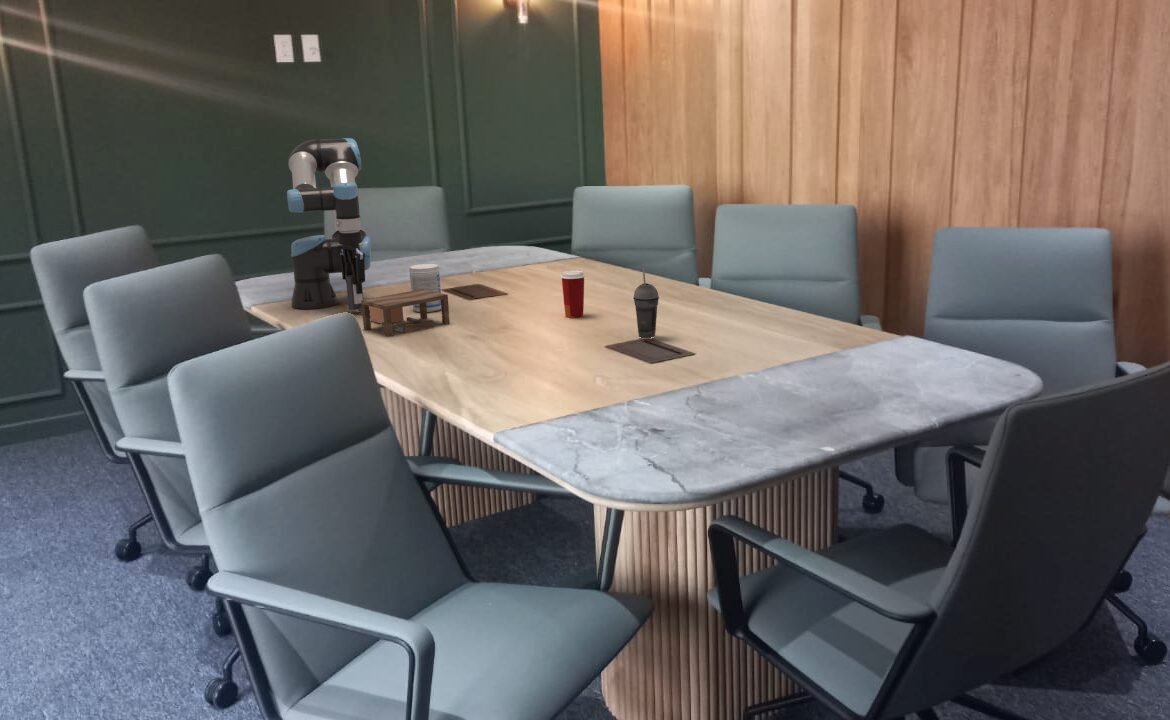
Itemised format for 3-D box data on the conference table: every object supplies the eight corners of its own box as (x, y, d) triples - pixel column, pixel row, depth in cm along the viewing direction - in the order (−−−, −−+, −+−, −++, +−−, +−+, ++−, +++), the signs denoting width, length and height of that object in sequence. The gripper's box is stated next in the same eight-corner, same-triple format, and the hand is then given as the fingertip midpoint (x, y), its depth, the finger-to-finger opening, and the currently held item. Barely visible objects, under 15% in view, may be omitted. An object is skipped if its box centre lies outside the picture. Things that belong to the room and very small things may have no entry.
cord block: (345, 313, 332) (341, 276, 329) (363, 309, 337) (360, 273, 334) (384, 324, 315) (380, 285, 312) (403, 320, 319) (400, 282, 316)
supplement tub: (446, 310, 333) (443, 266, 329) (420, 314, 328) (417, 269, 324) (434, 305, 341) (431, 262, 337) (408, 309, 336) (404, 265, 332)
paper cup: (590, 314, 320) (589, 270, 316) (580, 319, 313) (578, 275, 309) (568, 313, 323) (566, 269, 319) (557, 318, 316) (555, 273, 313)
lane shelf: (363, 329, 310) (361, 300, 307) (424, 317, 324) (422, 289, 321) (388, 336, 299) (385, 306, 297) (449, 323, 314) (447, 294, 311)
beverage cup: (642, 341, 283) (641, 271, 278) (629, 336, 290) (627, 267, 284) (664, 338, 287) (663, 268, 281) (651, 333, 293) (650, 264, 288)
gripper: (326, 230, 330) (333, 301, 336) (351, 234, 318) (358, 307, 325) (347, 227, 335) (353, 297, 341) (372, 231, 323) (378, 304, 329)
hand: (355, 302), depth 333 cm, fingers closed on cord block, 3 cm apart
